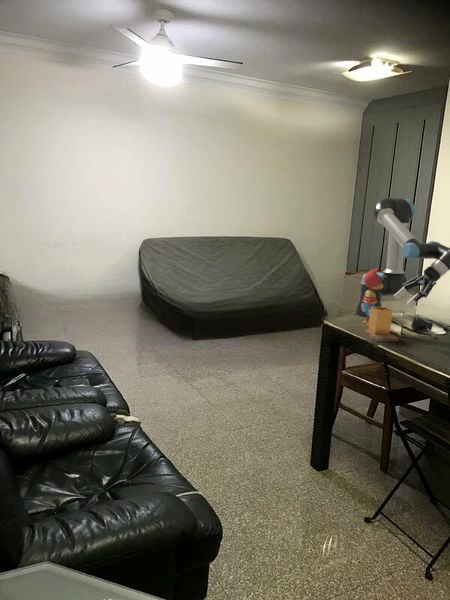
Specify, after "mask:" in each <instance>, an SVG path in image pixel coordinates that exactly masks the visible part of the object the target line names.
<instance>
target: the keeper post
mask: <svg viewBox="0 0 450 600" xmlns="http://www.w3.org/2000/svg"><path fill="white" fill-rule="evenodd" d="M368 328H369V327H367V328H365V327H364V328H362V332H363V333H364V334H366V335H367V336H368V337H369V338H370V339H372V340H374V341H375V342H376V343H378V342H380V343H381V342H383V343H386V342H387V343H391V341H392V343H394V342H393V341H396V342H397V341H400V338H398V337H397V336H396V335H394V334H393V333H391V332H390V333H389V335H374V334H373V333H372V332H370V331H369V330H368ZM396 342H395V343H396ZM397 343H398V342H397Z"/></svg>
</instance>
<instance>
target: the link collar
mask: <svg viewBox="0 0 450 600" xmlns="http://www.w3.org/2000/svg"><path fill="white" fill-rule="evenodd" d="M392 318H393V310H392V309H391V308H388V307H387V306H382V307H373V306H371V312H370V319H369V327H367V328H368V330H369V331H370V332H372V333H373V334H374V335H389V333H391V325H392Z"/></svg>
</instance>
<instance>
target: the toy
mask: <svg viewBox="0 0 450 600" xmlns="http://www.w3.org/2000/svg"><path fill="white" fill-rule="evenodd" d="M377 271H379V268H375V269H374V268H371V269H369V271H367V272H366V273H367V274H366V273H365V274H366V275H365V277H364V282H365V285H366V286H367V287H369V290H367V291H366V292H365V295H364V297H363V299H362V305H361V308H362V311H363V312H366V315H367V317H365V318H366V319H365V320H363V324H364V325H366V326H367V328H369V320H370V312H371V306H373V307H375V303H377V300H376V296H375V293H374V292H373V291H372V290H371V289H374V290H377V289H382V288H383V284H381V282H382V281H381V280H382V277H381V279H380V276H379V275H378V274H377V273H376V272H377ZM364 302H365V303H364Z"/></svg>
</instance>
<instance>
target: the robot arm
mask: <svg viewBox="0 0 450 600" xmlns="http://www.w3.org/2000/svg"><path fill="white" fill-rule="evenodd" d="M415 213H416V208H415V205H414V203H413V201H412V200H410V199H407V198H395V197H393V198H391V197H384V198H381V199H379V200H377V201H376V203H375V204H374V206H373V209H372V214H373V217H374V219H375V220H376V222H378V224H380V225H383V227H384V228H385V229H386V230H387V232H388V241H387V242H388V243H387V245H388V246H387V256H386V268H385V269H384V270H383V272H377V271H375V272H376V273H377V274H378V275H379V276H380V279H381V277H382V280H381V281H382V282H381V284H383V288H382V289H377V290H374V289H371V290H372V291H373V292H374V293H375V296H376V300H377V303H375V307H383V306H382V297H390V296H391V297H392V296H393V297H394V298H395V300H397V301H398V300H399V299H400V298H401V297H402V296H403V295H404V294H405V293H407V292H408V291H409V290H410V289H413V288H415V287H417V286H418V287H419V286H421V287H420V289H419V291H418V292H417V293H416V294H414V296H412V297H411V298H410V299H409V300H408V301H406V303H407V305H408V306H409V307H410V308H411V307H412V306H414V305H415V304H416V303H417V302H418V301H419V300H421V299H422V298H424V299H425V298H427V297H428V296H429V294H430V293H431V291H432V290H433V288H434V287H435V286H436V285H437V281H439V280H440V279H441V278H442V277H443V276H445V275H446V273H448V272H449V271H450V247H449V246H446V245H443V244H441V242H438V241H434V240H432V241H428V242H427V243H426V242H425V243H424V242H423V243H421V242H420V241H418V239H417V238H416V237H415V235H413V234H412V233H411V232H410V230H409V229H408V228H407V226H409V225H410V221H412V220H413V218H414V216H415ZM404 258H405V259H411V260H417V259H419V260H420V259H421V260H422V259H429V260H431V259H433V260H435V261H433V262H432V263H431V264H430V266H427V268H425V270H424V271H423V275H422V274H420V273H418V274H417V275H416V276H415V277H412V278H411V279H409V278H408V277H407V276H406V271H404V270H403V266H404ZM367 273H368V272H366V273H364V274H363V275H362V277H361V282H360V291H359V300H358V302H357V305H356V306H355V309H354V314H355V315H357V316H358V315H359V316H361V317H365V318H367V315H366V312H363V311H362V308H361V305H362V299H363V297H364V295H365V292H366V291H367V290H369V287H367V286H366V285H365V282H364V277H365V275H366V274H367ZM364 303H365V302H364Z"/></svg>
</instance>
